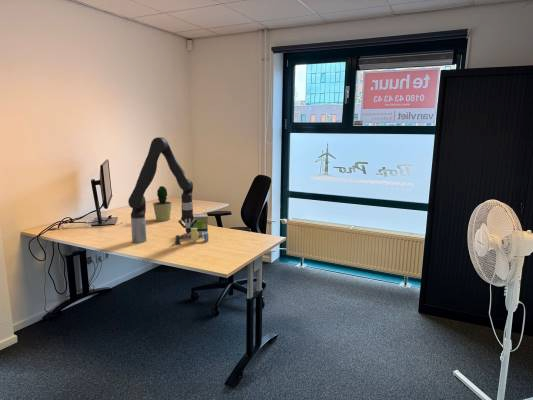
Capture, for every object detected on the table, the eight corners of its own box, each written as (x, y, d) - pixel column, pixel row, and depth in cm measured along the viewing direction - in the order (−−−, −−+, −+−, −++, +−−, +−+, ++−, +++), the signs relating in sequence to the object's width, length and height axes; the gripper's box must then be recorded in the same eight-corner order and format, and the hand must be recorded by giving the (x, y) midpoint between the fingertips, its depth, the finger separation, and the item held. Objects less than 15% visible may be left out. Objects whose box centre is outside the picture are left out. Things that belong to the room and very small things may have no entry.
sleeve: (191, 241, 255) (190, 229, 254) (190, 239, 260) (190, 227, 258) (198, 240, 257) (198, 229, 255) (197, 238, 261) (197, 227, 260)
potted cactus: (151, 219, 323) (149, 185, 317) (168, 217, 332) (166, 183, 327) (157, 222, 311) (156, 187, 305) (175, 220, 320) (173, 185, 315)
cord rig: (176, 244, 252) (175, 236, 251) (175, 242, 258) (174, 233, 256) (208, 242, 259) (208, 233, 258) (207, 239, 264) (207, 231, 263)
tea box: (187, 236, 272) (186, 216, 269) (187, 233, 281) (186, 213, 279) (208, 235, 274) (207, 216, 272) (207, 232, 284) (207, 213, 281)
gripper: (177, 210, 247) (178, 235, 250) (197, 209, 251) (198, 233, 254) (176, 208, 254) (177, 232, 257) (196, 206, 258) (197, 231, 262)
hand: (188, 233), depth 256 cm, fingers closed
